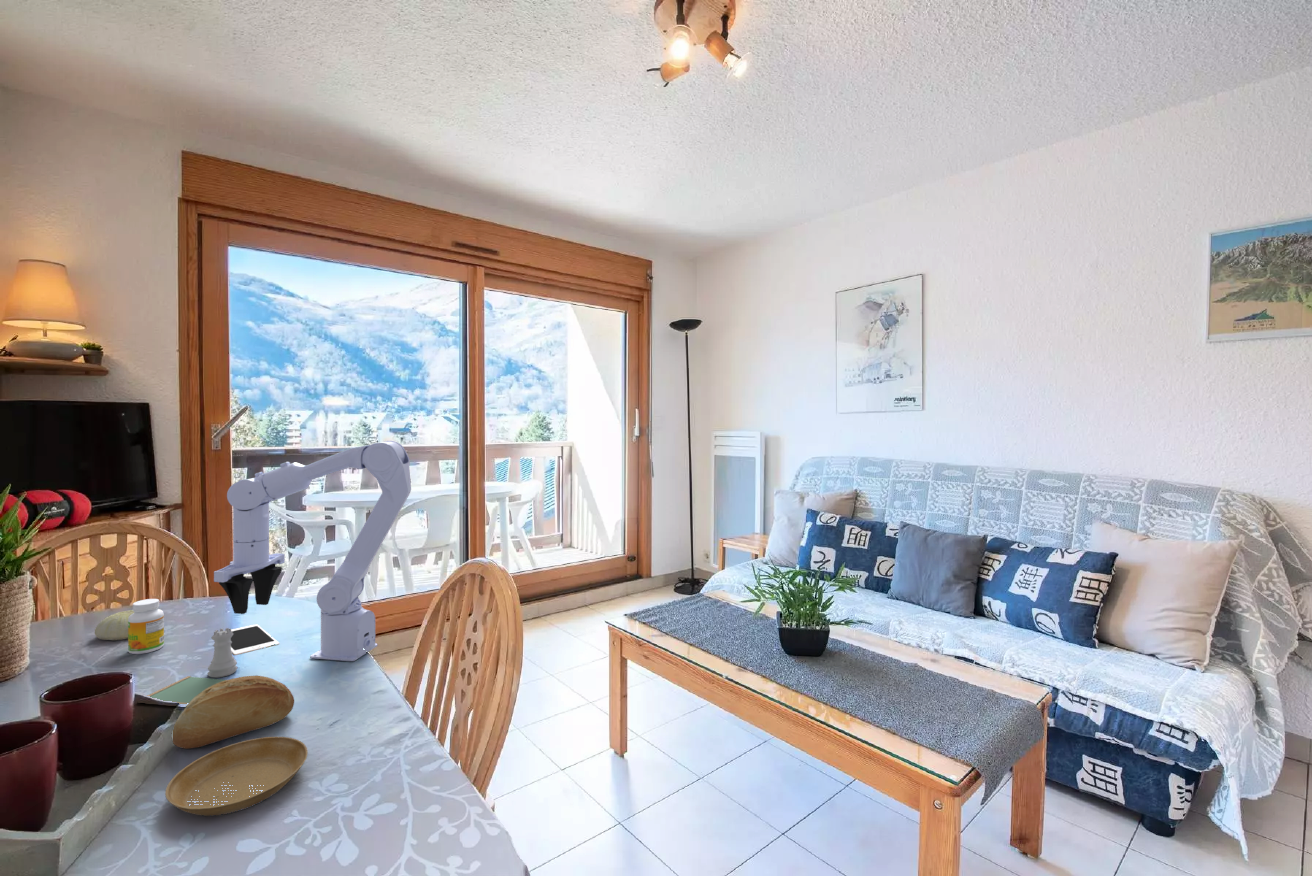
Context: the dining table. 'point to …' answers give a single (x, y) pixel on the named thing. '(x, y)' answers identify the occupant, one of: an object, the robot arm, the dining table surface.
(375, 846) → the dining table surface
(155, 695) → the green chalkboard
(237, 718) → the bread roll
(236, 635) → the cell phone
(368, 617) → the robot arm
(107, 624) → the sea urchin shell
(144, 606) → the supplement bottle
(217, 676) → the rook chess piece
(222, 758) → the plant saucer
